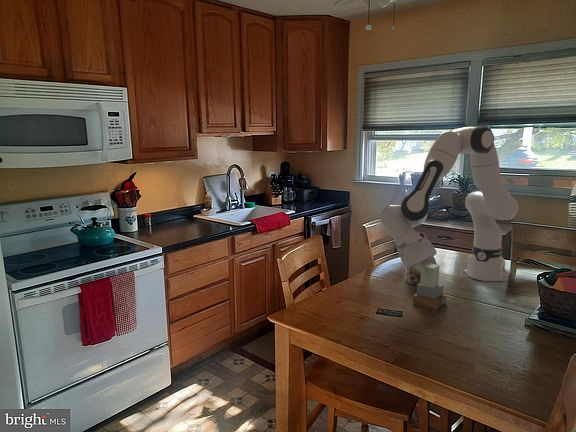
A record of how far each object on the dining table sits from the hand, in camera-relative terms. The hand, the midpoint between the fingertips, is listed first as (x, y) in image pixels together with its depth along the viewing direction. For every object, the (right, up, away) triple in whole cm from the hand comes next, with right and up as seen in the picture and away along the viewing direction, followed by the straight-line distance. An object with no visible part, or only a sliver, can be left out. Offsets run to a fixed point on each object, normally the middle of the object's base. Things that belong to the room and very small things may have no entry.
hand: (430, 270), depth 157 cm
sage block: (0, -6, +1) cm, 6 cm away
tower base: (0, -14, +3) cm, 14 cm away
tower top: (0, -10, +2) cm, 10 cm away
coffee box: (+3, -9, +26) cm, 28 cm away
